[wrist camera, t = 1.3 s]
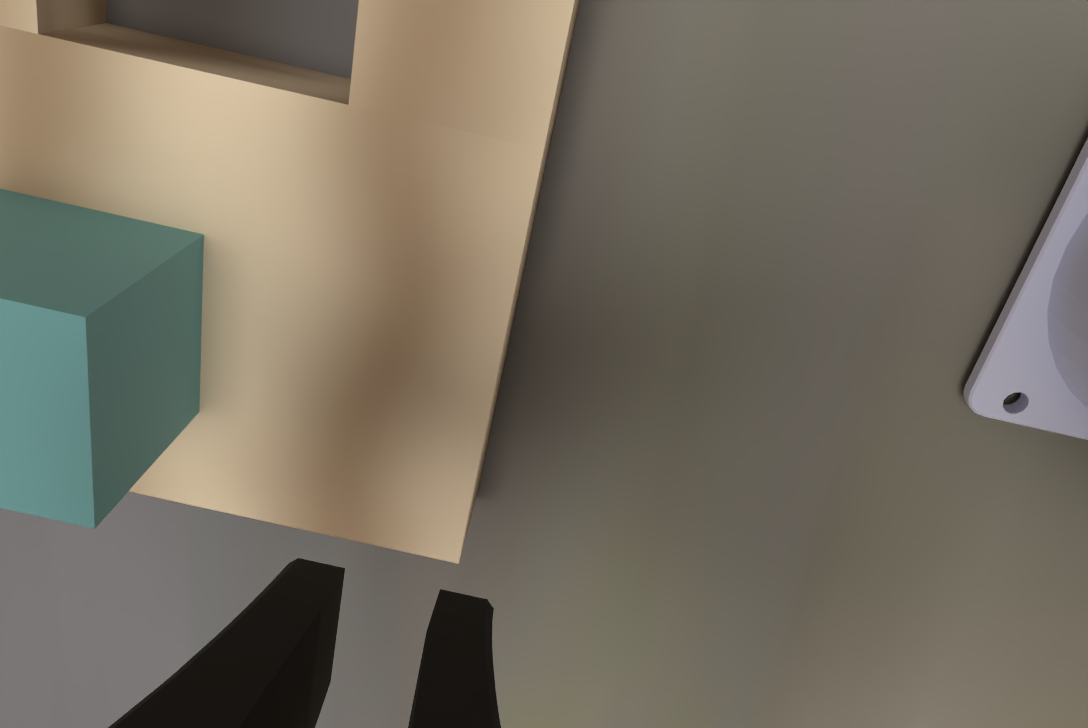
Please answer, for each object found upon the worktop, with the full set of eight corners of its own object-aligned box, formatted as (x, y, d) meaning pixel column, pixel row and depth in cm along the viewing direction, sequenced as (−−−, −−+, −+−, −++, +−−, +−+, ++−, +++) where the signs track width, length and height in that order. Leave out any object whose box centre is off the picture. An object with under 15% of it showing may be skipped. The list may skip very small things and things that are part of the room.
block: (204, 234, 16) (85, 317, 13) (199, 412, 18) (94, 528, 14) (-4, 187, 16) (-182, 257, 13) (12, 370, 18) (-139, 477, 14)
